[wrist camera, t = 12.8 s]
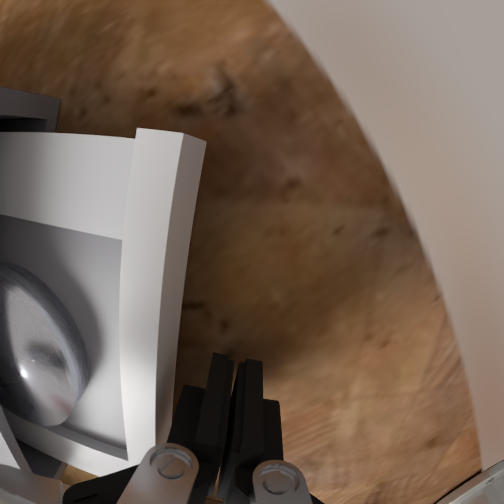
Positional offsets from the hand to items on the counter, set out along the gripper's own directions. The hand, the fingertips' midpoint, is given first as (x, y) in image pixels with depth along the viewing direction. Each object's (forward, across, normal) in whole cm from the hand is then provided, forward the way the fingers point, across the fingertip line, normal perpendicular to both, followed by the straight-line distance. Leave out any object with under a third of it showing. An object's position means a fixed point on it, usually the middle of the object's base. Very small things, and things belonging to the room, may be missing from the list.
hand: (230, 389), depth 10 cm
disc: (0, +8, 0) cm, 9 cm away
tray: (0, +10, 0) cm, 10 cm away
